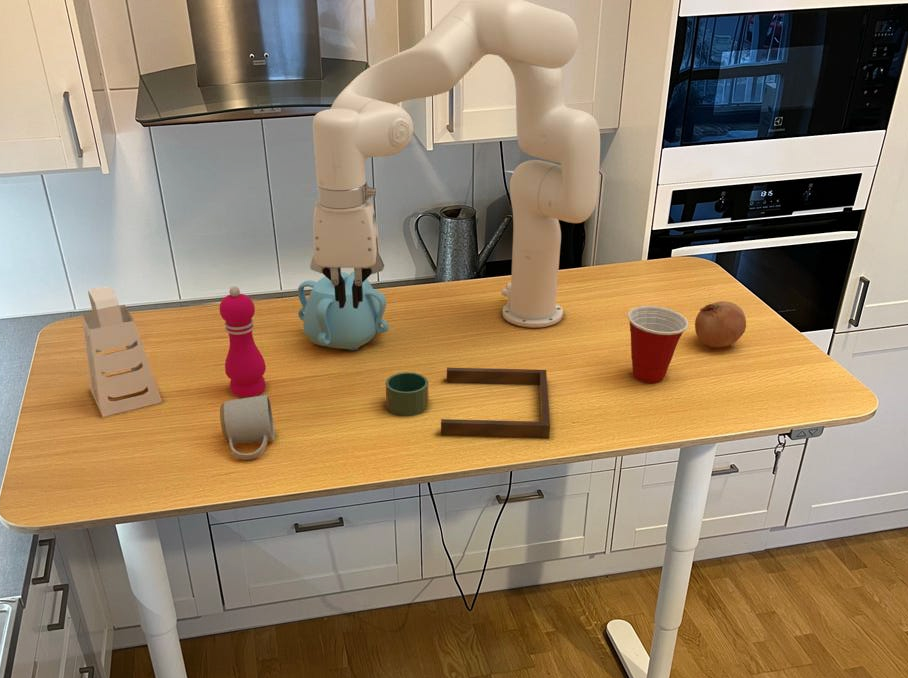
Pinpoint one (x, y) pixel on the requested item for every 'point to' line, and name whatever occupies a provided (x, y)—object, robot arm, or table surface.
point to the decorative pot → (341, 314)
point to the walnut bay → (493, 426)
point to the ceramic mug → (247, 423)
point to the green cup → (407, 393)
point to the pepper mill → (242, 346)
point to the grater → (116, 355)
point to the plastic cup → (654, 340)
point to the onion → (720, 324)
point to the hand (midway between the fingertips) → (349, 304)
